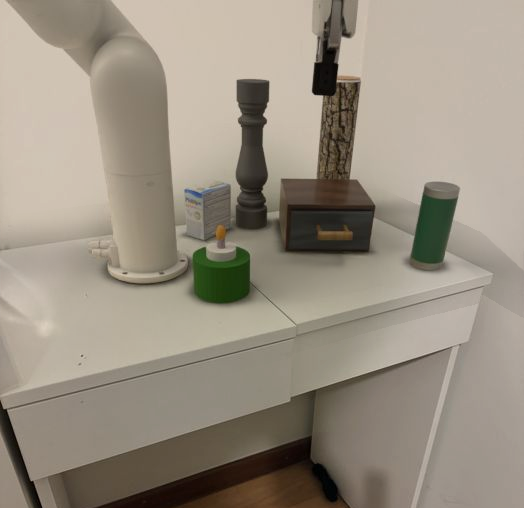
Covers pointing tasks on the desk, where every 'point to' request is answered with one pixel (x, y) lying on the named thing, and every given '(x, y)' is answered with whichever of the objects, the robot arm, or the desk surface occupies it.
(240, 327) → the desk surface
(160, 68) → the robot arm
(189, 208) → the medicine box
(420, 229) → the can
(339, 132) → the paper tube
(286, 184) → the cabinet
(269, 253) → the desk surface
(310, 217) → the drawer
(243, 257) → the candle
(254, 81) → the candle holder
